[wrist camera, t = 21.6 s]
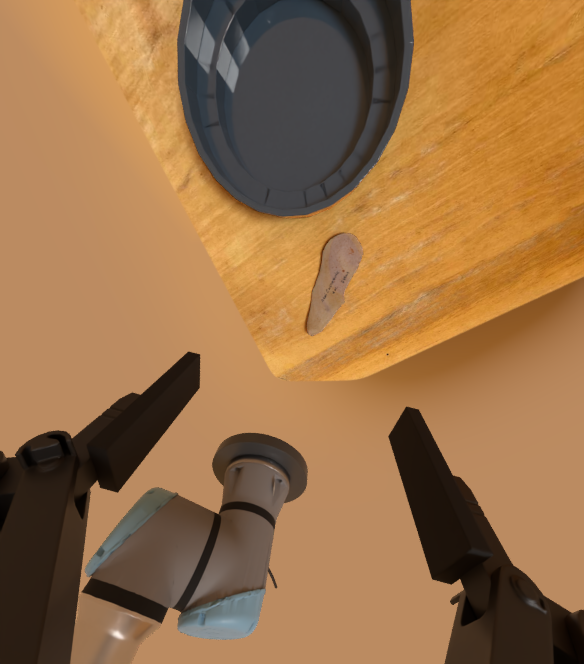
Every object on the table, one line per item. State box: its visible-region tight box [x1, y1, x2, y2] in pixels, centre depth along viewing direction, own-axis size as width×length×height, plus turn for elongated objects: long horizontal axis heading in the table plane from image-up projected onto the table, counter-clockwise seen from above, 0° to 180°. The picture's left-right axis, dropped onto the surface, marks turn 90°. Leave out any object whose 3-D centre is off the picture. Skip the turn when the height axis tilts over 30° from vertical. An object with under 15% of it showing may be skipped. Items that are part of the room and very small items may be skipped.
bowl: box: [177, 0, 414, 218], centre depth 22 cm, size 20×20×5 cm
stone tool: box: [307, 233, 363, 336], centre depth 31 cm, size 5×2×15 cm
